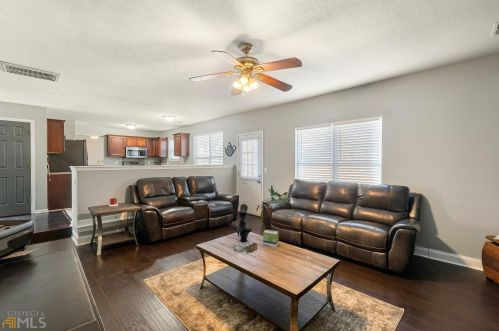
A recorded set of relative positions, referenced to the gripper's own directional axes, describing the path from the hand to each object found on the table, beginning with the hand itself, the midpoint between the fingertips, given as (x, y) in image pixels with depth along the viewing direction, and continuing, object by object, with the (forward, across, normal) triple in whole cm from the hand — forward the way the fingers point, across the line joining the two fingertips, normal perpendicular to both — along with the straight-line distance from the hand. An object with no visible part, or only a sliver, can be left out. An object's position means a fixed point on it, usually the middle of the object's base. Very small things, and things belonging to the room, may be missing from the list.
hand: (242, 237), depth 233 cm
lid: (+11, -1, -2) cm, 12 cm away
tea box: (+12, +23, +22) cm, 34 cm away
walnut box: (+12, +11, -1) cm, 16 cm away
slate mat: (+12, -1, -2) cm, 12 cm away
